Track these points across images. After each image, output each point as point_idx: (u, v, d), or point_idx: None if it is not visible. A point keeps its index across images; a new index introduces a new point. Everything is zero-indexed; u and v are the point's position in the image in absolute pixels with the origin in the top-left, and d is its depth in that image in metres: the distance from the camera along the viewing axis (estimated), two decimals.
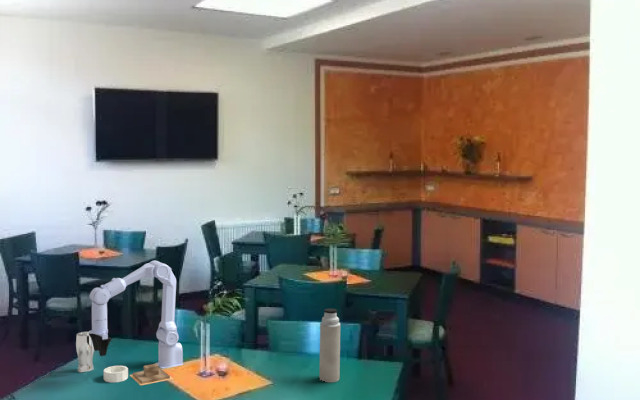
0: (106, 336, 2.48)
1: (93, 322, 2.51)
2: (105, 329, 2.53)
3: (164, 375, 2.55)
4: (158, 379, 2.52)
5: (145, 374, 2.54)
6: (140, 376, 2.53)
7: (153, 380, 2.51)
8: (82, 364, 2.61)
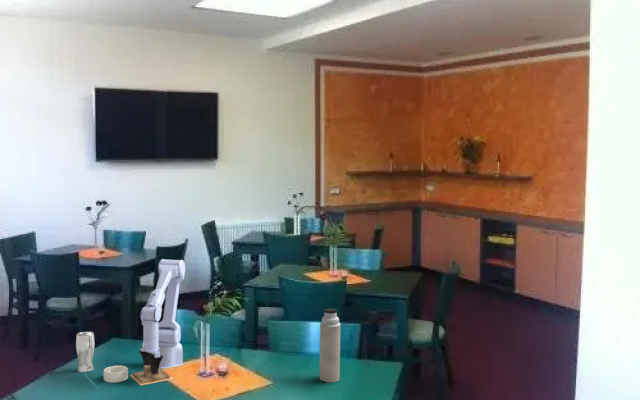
0: (158, 354, 2.49)
1: (145, 340, 2.52)
2: (156, 347, 2.54)
3: (164, 375, 2.55)
4: (158, 379, 2.52)
5: (145, 374, 2.54)
6: (140, 376, 2.53)
7: (153, 380, 2.51)
8: (82, 364, 2.61)
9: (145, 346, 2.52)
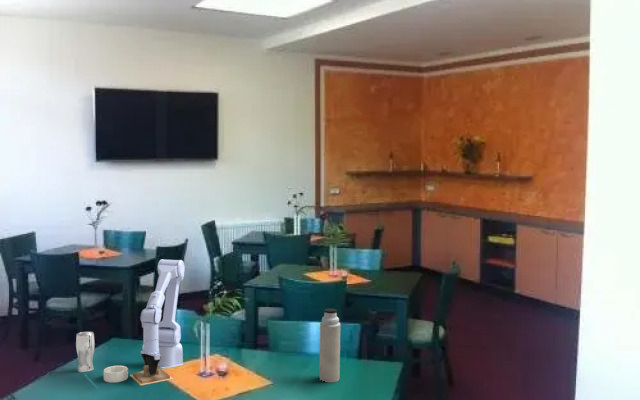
0: (158, 356, 2.49)
1: (145, 342, 2.52)
2: (157, 349, 2.54)
3: (164, 375, 2.55)
4: (158, 379, 2.52)
5: (145, 374, 2.54)
6: (140, 376, 2.53)
7: (153, 380, 2.51)
8: (82, 364, 2.61)
9: (145, 348, 2.53)
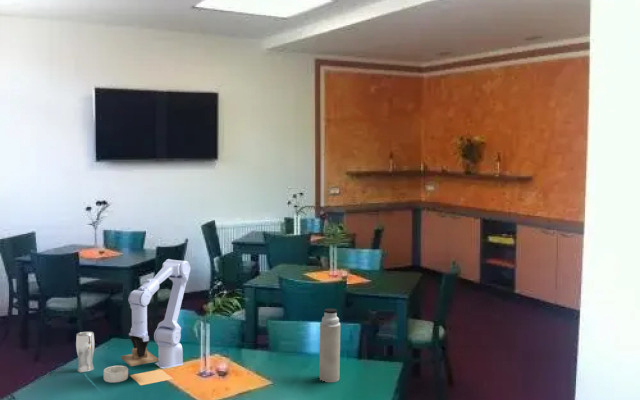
0: (147, 338, 2.48)
1: (133, 324, 2.51)
2: (145, 331, 2.53)
3: (153, 358, 2.54)
4: (147, 361, 2.51)
5: (133, 357, 2.53)
6: (129, 359, 2.52)
7: (142, 362, 2.49)
8: (82, 364, 2.61)
9: (133, 330, 2.51)
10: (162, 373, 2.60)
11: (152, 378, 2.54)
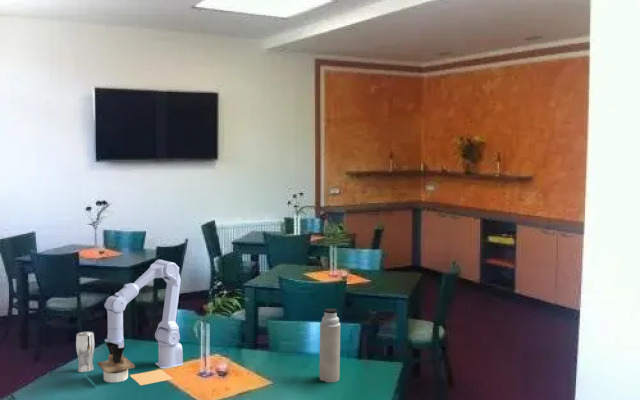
0: (122, 345, 2.47)
1: (109, 330, 2.50)
2: (121, 337, 2.52)
3: (129, 364, 2.53)
4: (122, 368, 2.50)
5: (110, 363, 2.52)
6: (105, 366, 2.51)
7: (117, 369, 2.48)
8: (82, 364, 2.61)
9: (109, 337, 2.50)
10: (162, 373, 2.60)
11: (152, 378, 2.54)
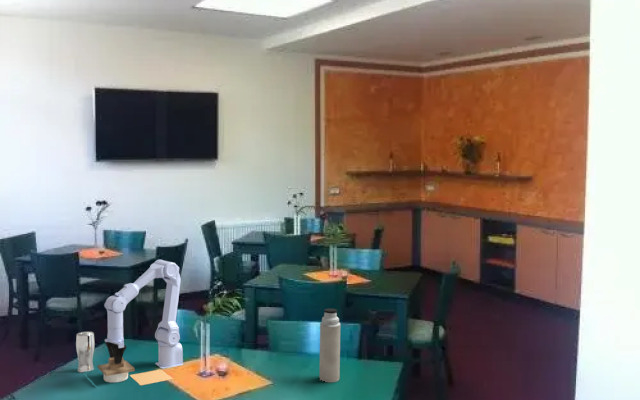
0: (122, 345, 2.47)
1: (109, 330, 2.50)
2: (121, 337, 2.52)
3: (129, 367, 2.53)
4: (122, 371, 2.50)
5: (110, 366, 2.52)
6: (105, 369, 2.51)
7: (117, 372, 2.49)
8: (82, 364, 2.61)
9: (109, 337, 2.50)
10: (162, 373, 2.60)
11: (152, 378, 2.54)
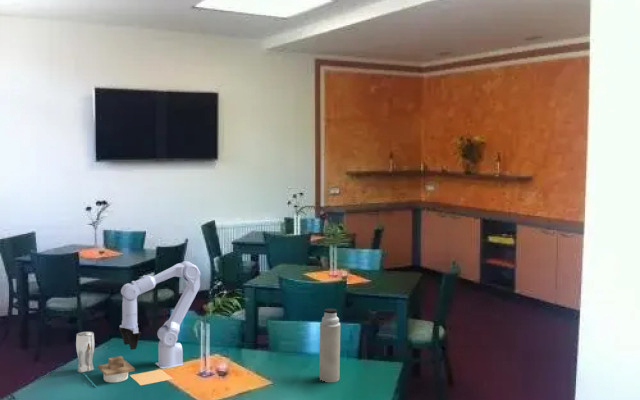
0: (137, 330, 2.57)
1: (124, 317, 2.60)
2: (135, 323, 2.62)
3: (129, 367, 2.53)
4: (122, 371, 2.50)
5: (110, 366, 2.52)
6: (105, 369, 2.51)
7: (117, 372, 2.49)
8: (82, 364, 2.61)
9: (124, 323, 2.60)
10: (162, 373, 2.60)
11: (152, 378, 2.54)
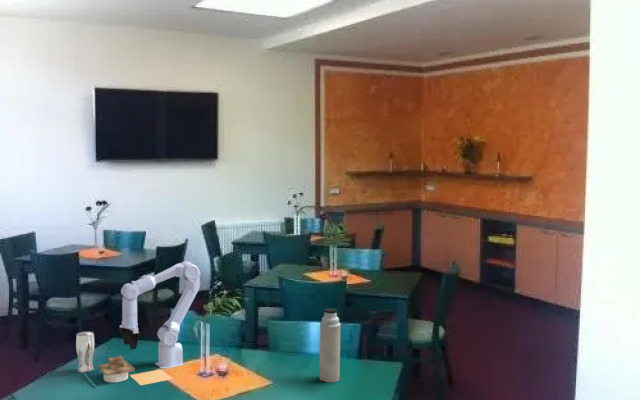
0: (137, 330, 2.57)
1: (124, 317, 2.60)
2: (135, 323, 2.62)
3: (129, 367, 2.53)
4: (122, 371, 2.50)
5: (110, 366, 2.52)
6: (105, 369, 2.51)
7: (117, 372, 2.49)
8: (82, 364, 2.61)
9: (124, 323, 2.60)
10: (162, 373, 2.60)
11: (152, 378, 2.54)
